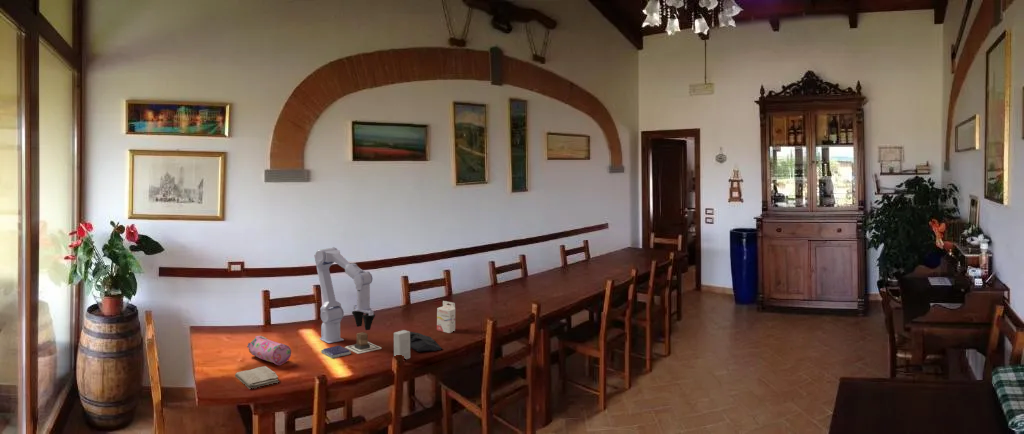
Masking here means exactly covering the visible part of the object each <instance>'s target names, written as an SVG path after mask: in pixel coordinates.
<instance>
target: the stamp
mask: <svg viewBox="0 0 1024 434" xmlns="http://www.w3.org/2000/svg"><path fill="white" fill-rule="evenodd" d="M368 335H369V333H368V332H367V333H366V332H365V331H362V332H357V333H356V343H355V344H353V345H354V346H355V348H357V349H359V350H362V349H366V348H370V344H368V342H369V337H368Z"/></svg>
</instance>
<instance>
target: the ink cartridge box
mask: <svg viewBox="0 0 1024 434" xmlns="http://www.w3.org/2000/svg"><path fill="white" fill-rule="evenodd" d="M436 331H439V332H443V333H446V334H451V333H453V331H454V332H456V303H455V302H452V301H447V300H442V306H440V307H437V308H436Z"/></svg>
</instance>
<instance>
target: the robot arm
mask: <svg viewBox="0 0 1024 434" xmlns="http://www.w3.org/2000/svg"><path fill="white" fill-rule="evenodd" d="M314 253H315V254H314V262H315V265H316V271H317V275H318V276H317V277H318V282H319V285H320V290H321V294H322V298H323V299H322V300H323V304H322V305H321V307H320V319H321V322H322V323H321V333H320V334H321V336H320V337H319V340H321V341H323V342H324V343H328V344H332V343H337V342H342V341H344V340H345V339H344V338H343V337H341V322H342V319H343V318H344V316H345V315H344V314H345V312H344V309H343V308H342V304H341V303H340V302H339V301H337V299H336V297H335V296H336V295H335V291H334V287H333V281H332V277H331V272H330V267H331V266H332V265H333V264H334V263H335V264H336V265H338V266H339V267H341V268H342V269H344V272H345V275H348V277H350V278H351V279H353V283H354V285H355V289H356V305H353V311H351V314H352V316H353V318H354V321H355V324H356V327H362V325H363V323H364V330H365V331H370V330H371V328H372V324H373V320H374V319H375V317H376V314H374V313H375V312H374V310H372V308H371V305H370V304H371V303H370V302H371V294H370V293H371V286H370V285H371V284H372V282H373V275H372V274H371V272H370V271H364V270H363V269H361V268H360V267H359V266H358V264H357V263H354V262H351V263H350V262H349V261H348V260H347V259H346V258H345V257H344V256H343V255H342V254H341V250H339V249H338V248H337V247H334V246H333V247H330V248H324V249H317V250H316V251H315V252H314ZM363 321H364V322H363Z"/></svg>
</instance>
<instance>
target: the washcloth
mask: <svg viewBox="0 0 1024 434" xmlns="http://www.w3.org/2000/svg"><path fill="white" fill-rule="evenodd" d="M234 377H235V378H236V379H237V380H239V381H240V382H241V383H242V384H243V385H244V384H245V387H246V388H248V390H251V388H252V389H253V388H254V389H257V387H259V388H261V387H260V386H264V385H268V386H270V385H269V384H272V385H274V384H273V383H277V384H278V382H279V383H280V381H279V379H278V378H279V376H278V375H277V373H276V372H275V371H273V370H272V369H271V368H269V367H268V366H266V365H263V366H257V367H256V368H252V369H246V370H242V371H238V372H236V373H235V374H234ZM264 387H265V386H264Z"/></svg>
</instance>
